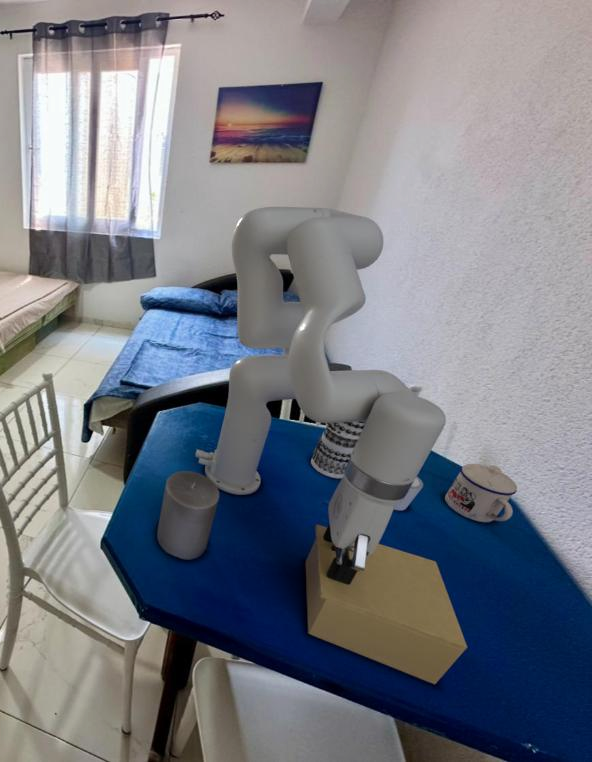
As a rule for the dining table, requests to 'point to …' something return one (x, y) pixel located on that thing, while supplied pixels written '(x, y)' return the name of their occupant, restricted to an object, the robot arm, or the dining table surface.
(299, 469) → the dining table surface
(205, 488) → the pillar candle
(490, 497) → the teacup with lid
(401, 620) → the lid
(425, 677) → the hinged wooden box
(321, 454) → the white patterned cylinder
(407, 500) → the white short cylinder
